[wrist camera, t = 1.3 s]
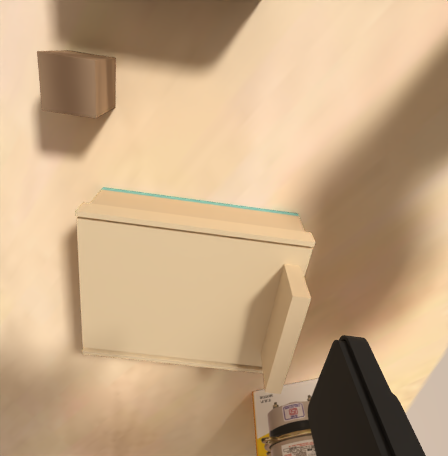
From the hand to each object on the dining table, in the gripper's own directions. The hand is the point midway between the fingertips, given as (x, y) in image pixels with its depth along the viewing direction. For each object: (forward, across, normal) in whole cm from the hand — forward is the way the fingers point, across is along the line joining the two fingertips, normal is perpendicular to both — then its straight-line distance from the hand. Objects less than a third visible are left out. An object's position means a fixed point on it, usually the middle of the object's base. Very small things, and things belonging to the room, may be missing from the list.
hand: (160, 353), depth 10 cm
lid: (+24, 0, +16) cm, 29 cm away
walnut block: (+30, +12, -2) cm, 33 cm away
